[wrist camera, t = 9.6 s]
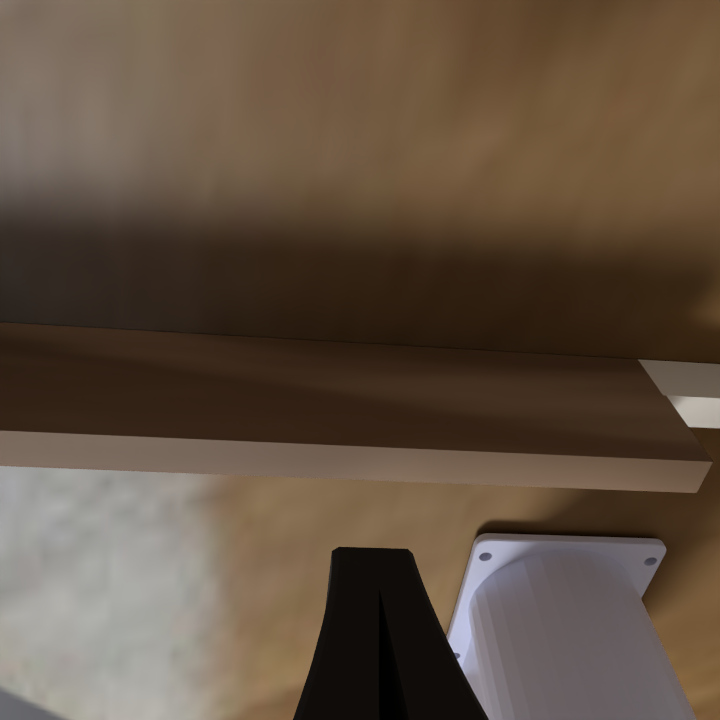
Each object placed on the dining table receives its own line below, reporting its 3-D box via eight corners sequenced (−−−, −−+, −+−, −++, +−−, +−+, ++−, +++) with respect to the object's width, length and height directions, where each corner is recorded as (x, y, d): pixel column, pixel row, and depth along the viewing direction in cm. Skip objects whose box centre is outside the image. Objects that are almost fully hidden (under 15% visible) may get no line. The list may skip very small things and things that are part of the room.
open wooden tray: (629, 387, 23) (696, 493, 19) (-120, 347, 21) (-231, 456, 16) (911, -310, 13) (1180, -412, 9) (-444, -529, 11) (-911, -798, 7)
